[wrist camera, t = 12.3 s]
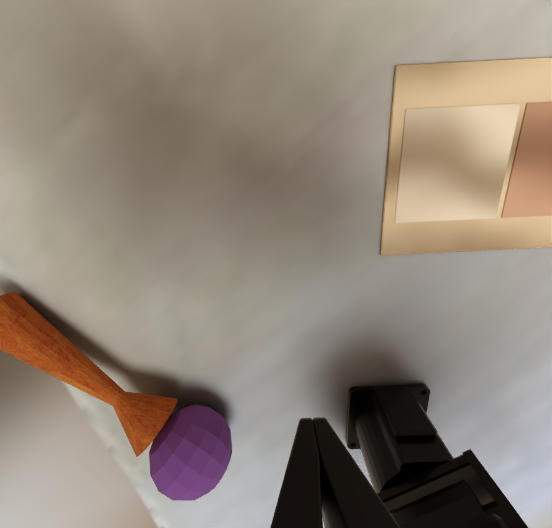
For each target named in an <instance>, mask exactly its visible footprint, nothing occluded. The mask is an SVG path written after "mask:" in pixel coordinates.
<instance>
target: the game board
mask: <svg viewBox="0 0 552 528" xmlns="http://www.w3.org/2000/svg"><path fill="white" fill-rule="evenodd" d="M543 247H552V58H533V59H513V60H493V61H473V62H453V63H433V64H414V65H397V66H396V67H395V77H394V89H393V101H392V113H391V126H390V138H389V150H388V162H387V175H386V187H385V199H384V211H383V223H382V236H381V248H380V255H395V254H416V253H438V252H459V251H480V250H501V249H522V248H543Z"/></svg>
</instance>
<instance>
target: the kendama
mask: <svg viewBox="0 0 552 528" xmlns="http://www.w3.org/2000/svg"><path fill="white" fill-rule="evenodd" d="M0 350H2V351H4V352H6V353H8V354H10V355H12V356H14V357H16V358H18V359H20V360H22V361H24V362H26V363H28V364H30V365H32V366H34V367H36V368H38V369H40V370H42V371H44V372H46V373H48V374H50V375H52V376H54V377H56V378H58V379H60V380H62V381H64V382H66V383H68V384H70V385H72V386H74V387H76V388H78V389H80V390H82V391H84V392H86V393H88V394H90V395H92V396H94V397H96V398H98V399H100V400H102V401H104V402H106V403H108V404H110V405H112V406H113V407H114V409H115V411H116V413H117V416H118V418H119V420H120V422H121V424H122V426H123V428H124V431H125V433H126V435H127V437H128V439H129V441H130V444H131V446H132V448H133V450H134V452H135V454H136V457H137V456H139V455H140V454H141V453H142V452H143V451H144V450H145V449H146V448H147V447H148V446H149V445H150V443H151V442H152V441H153V443H152V446H151V449H150V452H149V457H150V474H151V477H152V479H153V481H154V483H155V485H156V487H157V489H158V491H159V492H161V493H162V494H164V495H165V496H167V497H169V498H170V499H172V500H196V499H198V498H199V497H201V496H203V495H205V494H207V493H209V492H210V491H211V490H212V489H214V488H215V487H216V485H217V484H218V483H219V481H220V480H221V478H222V476H223V475H224V473H225V471H226V469H227V467H228V464H229V461H230V458H231V454H232V443H231V432H230V428H229V426H228V425H227V423H226V421H225V419H224V417H223V416H221V415H220V414H219V413H217V412H216V411H214V410H213V409H212V408H210V407H208V406H202V405H196V404H195V405H191V406H188V407H184V408H181V409H179V410H177V411H176V412H175V413H174V414H172V415H171V413H172V411H173V409H174V408H175V406H176V403H177V400H178V399H177V398H171V397H163V396H155V395H147V394H139V393H132V392H125V391H124V390H123V389H122V388H120V387H119V386H118V385H117V384H116V383H115V382H114V381H113V380H112V379H111V378H110V377H108V376H107V375H106V374H105V373H104V372H103V371H102V370H101V369H100V368H99V367H97V366H96V365H95V364H94V363H93V362H92V361H91V360H90V359H89V358H88V357H87V356H85V355H84V354H83V353H82V352H81V351H80V350H79V349H78V348H77V347H76V346H74V345H73V344H72V343H71V342H70V341H69V340H68V339H67V338H66V337H65V336H64V335H62V334H61V333H60V332H59V331H58V330H57V329H56V328H55V327H54V326H53V325H51V324H50V323H49V322H48V321H47V320H46V319H45V318H44V317H43V316H42V315H41V314H39V313H38V312H37V311H36V310H35V309H34V308H33V307H32V306H31V305H30V304H29V303H27V302H26V301H25V300H24V299H23V298H22V297H21V296H20V295H19V294H17V293H7V294H5V295H2V296H0ZM170 415H171V416H170ZM169 416H170V417H169Z"/></svg>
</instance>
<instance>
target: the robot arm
mask: <svg viewBox="0 0 552 528" xmlns="http://www.w3.org/2000/svg"><path fill="white" fill-rule="evenodd" d="M422 390H423V391H422ZM355 393H357V394H355ZM429 395H430V390H429V389H428V387H427V386H426V385H425V384H410V385H388V386H366V387H353V388H351V389H350V390H349V394H348V413H347V433H346V443H347V446H348V448H350V449H361V451H362V454H363V457H364V460H365V463H366V466H367V470H368V473H369V476H370V479H371V482H372V485H373V487H372V486H371V484H370V483H369V481H368V480H367V478H366V477H365V475H364V474H363V473H362V471H361V470H360V468H359V467H358V465H357V464H356V462H355V461H354V459H353V458H352V456H351V455H350V453H349V452H348V451H347V449H346V448H345V446H344V445H343V443H342V442H341V440H340V439H339V437H338V436H337V434H336V433H335V431H334V430H333V429H332V427H331V426H330V424H329V423H328V421H327V420H326V419H325V418H314V419H313V420H312V419H311V418H301V419H300V421H299V424H298V428H297V432H296V435H295V439H294V443H293V446H292V450H291V454H290V457H289V461H288V465H287V469H286V472H285V476H284V480H283V483H282V487H281V491H280V494H279V498H278V502H277V506H276V509H275V513H274V517H273V520H272V524H271V528H323V522H322V516H323V521H324V526H325V528H528V527H527V525H526V524H525V523H524V521H523V520H522V519H521V517H520V516H519V514H518V513H517V512H516V510H515V509H514V508H513V506H512V505H511V504H510V502H509V501H508V500H507V498H506V497H505V495H504V494H503V493H502V491H501V490H500V489H499V487H498V486H497V485H496V483H495V482H494V481H493V479H492V478H491V477H490V475H489V474H488V472H487V471H486V470H485V468H484V467H483V466H482V464H481V463H480V462H479V460H478V459H477V458H476V456H475V455H474V453H473V452H472V451H471V449H469V450H467V451H465V452H463V455H461V456H458V457H456V458H453V457H452V455H451V454H450V452H449V450H448V449H447V447H446V446H445V444H444V443H443V441H442V439H441V438H440V436H439V435H438V433H437V430H436V428H435V427H434V425H433V424H432V422H431V420H430V419H429V417H428V416H427V414H426V412H427V406H428V401H429ZM373 488H374V489H373Z"/></svg>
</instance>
